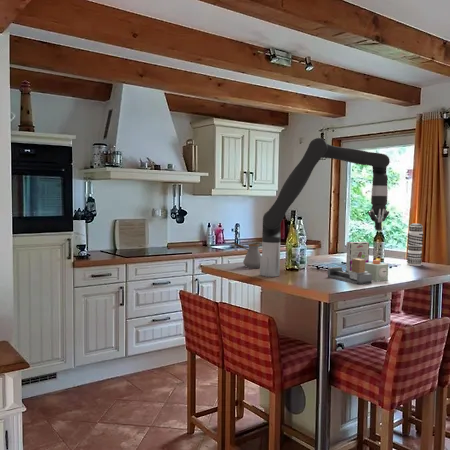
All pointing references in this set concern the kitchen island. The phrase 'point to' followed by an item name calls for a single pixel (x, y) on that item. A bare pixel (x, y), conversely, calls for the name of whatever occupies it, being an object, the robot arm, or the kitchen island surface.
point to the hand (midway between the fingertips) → (377, 229)
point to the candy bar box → (356, 253)
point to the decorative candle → (415, 245)
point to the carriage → (357, 268)
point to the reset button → (376, 261)
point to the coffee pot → (251, 256)
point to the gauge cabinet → (377, 271)
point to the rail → (359, 277)
